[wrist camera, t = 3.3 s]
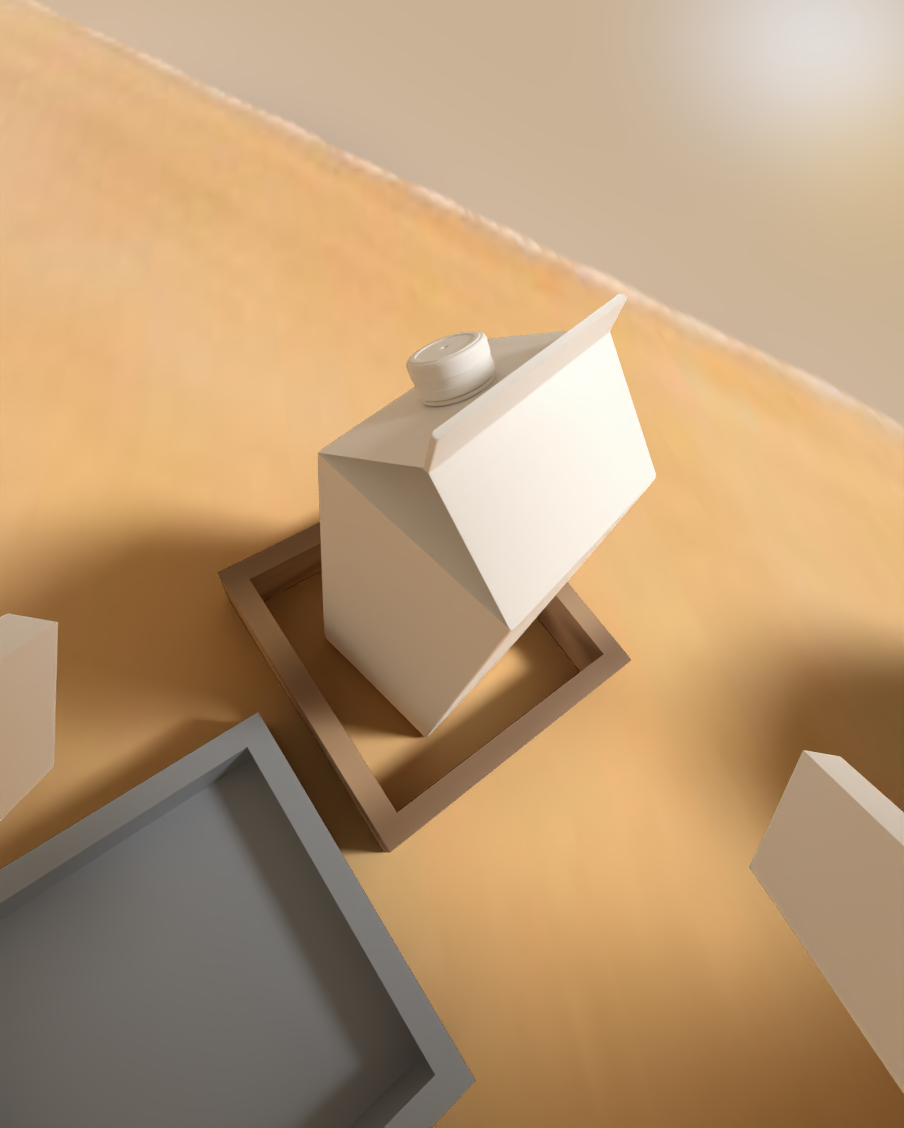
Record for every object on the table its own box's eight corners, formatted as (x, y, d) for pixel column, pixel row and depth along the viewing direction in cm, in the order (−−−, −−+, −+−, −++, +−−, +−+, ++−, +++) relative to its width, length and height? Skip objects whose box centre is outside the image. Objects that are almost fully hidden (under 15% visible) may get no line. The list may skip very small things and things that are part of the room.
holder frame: (605, 676, 30) (631, 660, 28) (383, 852, 25) (390, 852, 22) (451, 484, 34) (461, 453, 31) (228, 598, 28) (217, 572, 26)
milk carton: (516, 640, 30) (741, 379, 14) (425, 740, 27) (572, 557, 11) (420, 552, 32) (519, 216, 15) (322, 637, 28) (309, 330, 12)
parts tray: (458, 1053, 22) (475, 1080, 19) (38, 1484, 16) (-19, 1606, 13) (265, 726, 26) (258, 711, 23) (-128, 972, 20) (-198, 990, 17)
